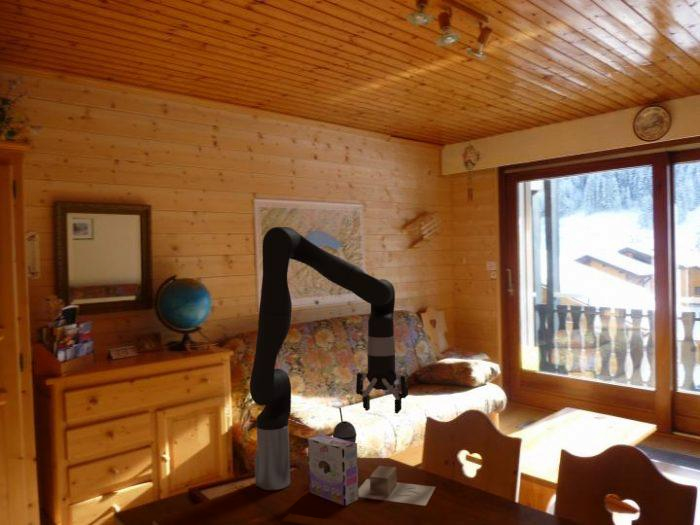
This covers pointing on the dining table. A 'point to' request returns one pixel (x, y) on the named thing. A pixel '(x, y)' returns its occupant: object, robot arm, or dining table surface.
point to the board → (401, 493)
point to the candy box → (333, 469)
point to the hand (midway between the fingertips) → (382, 411)
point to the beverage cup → (345, 430)
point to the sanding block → (383, 481)
